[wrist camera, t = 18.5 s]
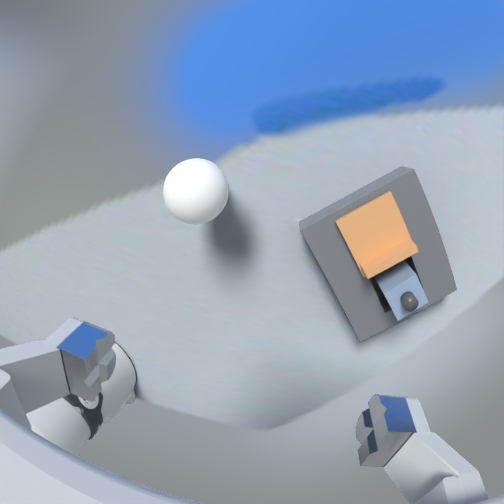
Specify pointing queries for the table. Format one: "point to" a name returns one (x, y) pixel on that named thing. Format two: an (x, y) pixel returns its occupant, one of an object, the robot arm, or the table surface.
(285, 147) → the table surface
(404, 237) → the panel
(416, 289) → the plug
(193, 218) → the lightbulb
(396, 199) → the socket block
